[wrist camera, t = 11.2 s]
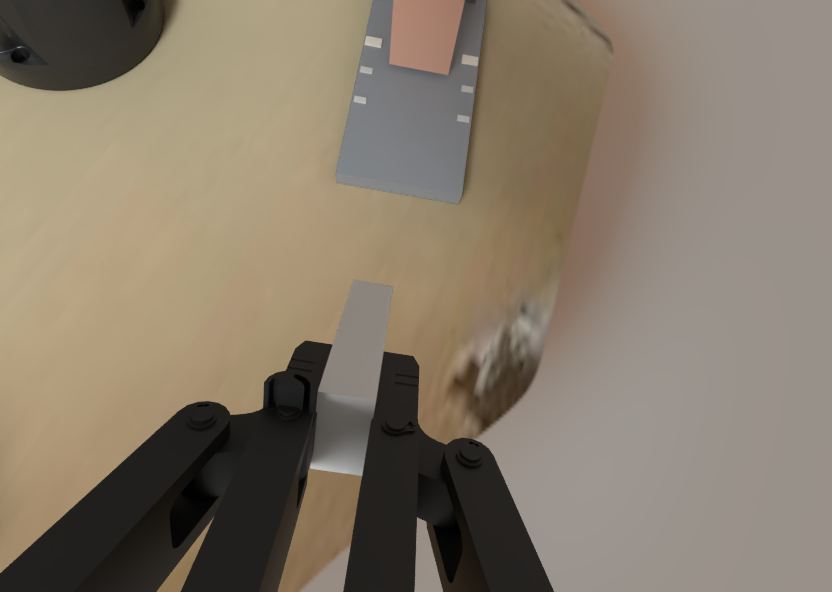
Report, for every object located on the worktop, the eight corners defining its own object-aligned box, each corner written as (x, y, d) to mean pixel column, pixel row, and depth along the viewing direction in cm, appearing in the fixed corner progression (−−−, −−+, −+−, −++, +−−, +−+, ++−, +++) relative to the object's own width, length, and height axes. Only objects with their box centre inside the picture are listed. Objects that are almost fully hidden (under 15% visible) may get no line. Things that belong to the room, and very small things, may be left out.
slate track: (458, 204, 41) (478, 152, 34) (336, 182, 40) (330, 125, 33) (484, 2, 47) (506, -77, 40) (379, -19, 47) (382, -103, 40)
